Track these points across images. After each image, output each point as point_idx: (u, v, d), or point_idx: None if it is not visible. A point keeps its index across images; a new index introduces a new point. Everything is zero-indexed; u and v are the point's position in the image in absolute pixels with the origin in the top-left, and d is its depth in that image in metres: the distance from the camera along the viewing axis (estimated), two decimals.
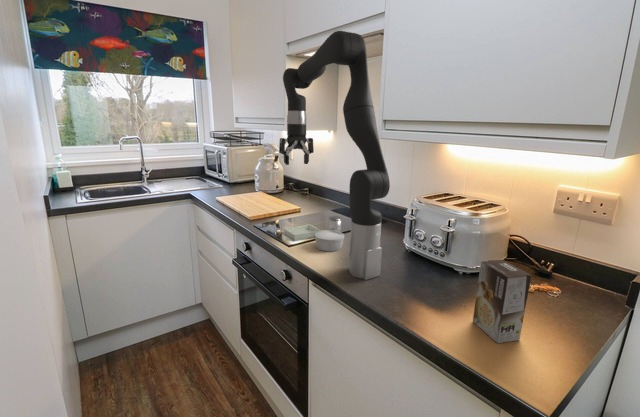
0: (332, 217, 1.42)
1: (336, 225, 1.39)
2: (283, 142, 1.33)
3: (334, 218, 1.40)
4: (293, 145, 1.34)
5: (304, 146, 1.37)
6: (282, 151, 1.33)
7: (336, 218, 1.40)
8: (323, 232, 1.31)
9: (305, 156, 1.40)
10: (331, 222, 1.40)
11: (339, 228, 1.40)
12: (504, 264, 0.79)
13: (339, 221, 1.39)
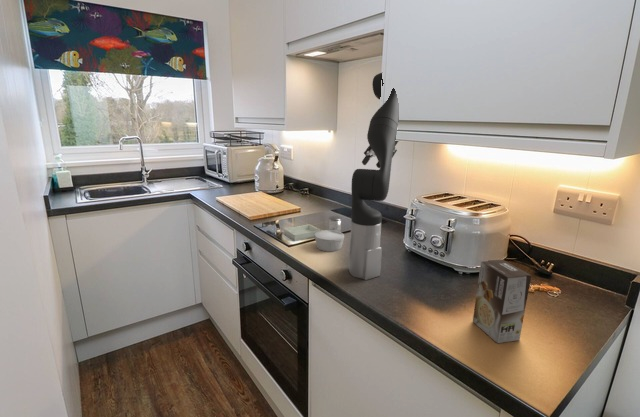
0: (332, 217, 1.42)
1: (336, 225, 1.39)
2: (370, 145, 1.48)
3: (334, 218, 1.40)
4: None
5: None
6: (365, 151, 1.48)
7: (336, 218, 1.40)
8: (323, 232, 1.31)
9: None
10: (331, 222, 1.40)
11: (339, 228, 1.40)
12: (504, 264, 0.79)
13: (339, 221, 1.39)
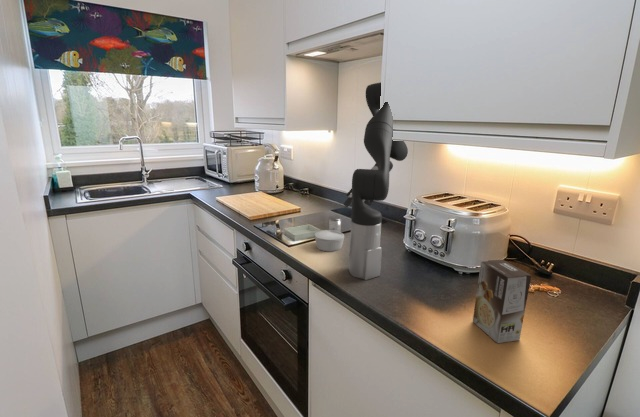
0: (332, 217, 1.42)
1: (336, 225, 1.39)
2: None
3: (334, 218, 1.40)
4: None
5: None
6: (347, 193, 1.50)
7: (336, 218, 1.40)
8: (323, 232, 1.31)
9: None
10: (331, 222, 1.40)
11: (339, 228, 1.40)
12: (504, 264, 0.79)
13: (339, 221, 1.39)
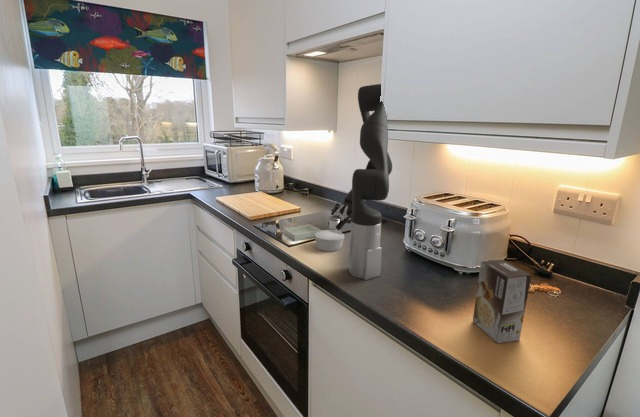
0: (332, 217, 1.42)
1: (336, 225, 1.39)
2: (335, 206, 1.47)
3: (334, 218, 1.40)
4: (340, 208, 1.44)
5: (345, 211, 1.40)
6: (332, 212, 1.46)
7: (336, 218, 1.40)
8: (323, 232, 1.31)
9: None
10: (331, 222, 1.40)
11: None
12: (504, 264, 0.79)
13: (339, 221, 1.39)
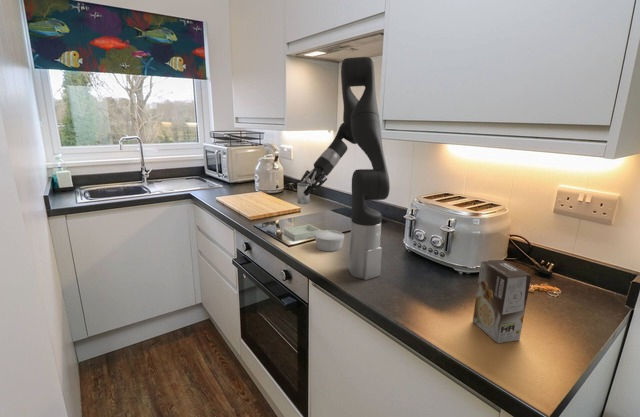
0: (300, 183, 1.39)
1: (304, 190, 1.37)
2: (305, 172, 1.45)
3: (302, 184, 1.37)
4: (309, 174, 1.41)
5: (313, 177, 1.38)
6: (301, 179, 1.43)
7: (304, 183, 1.38)
8: (323, 232, 1.31)
9: None
10: (299, 187, 1.37)
11: None
12: (504, 264, 0.79)
13: None
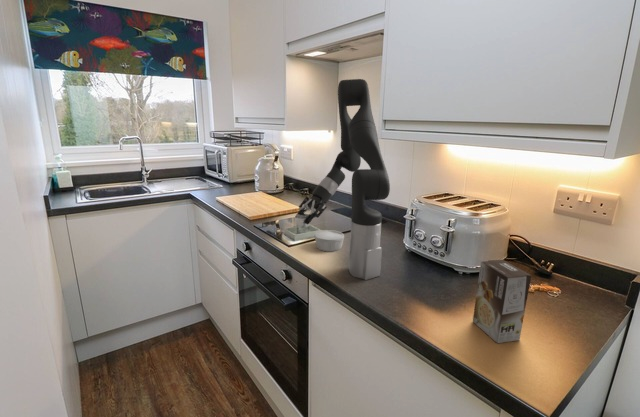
0: (299, 214, 1.42)
1: (303, 222, 1.40)
2: (304, 199, 1.48)
3: (301, 216, 1.40)
4: (307, 202, 1.44)
5: (312, 205, 1.40)
6: (300, 205, 1.47)
7: (303, 215, 1.41)
8: (323, 232, 1.31)
9: None
10: (298, 219, 1.40)
11: (306, 225, 1.41)
12: (504, 264, 0.79)
13: None
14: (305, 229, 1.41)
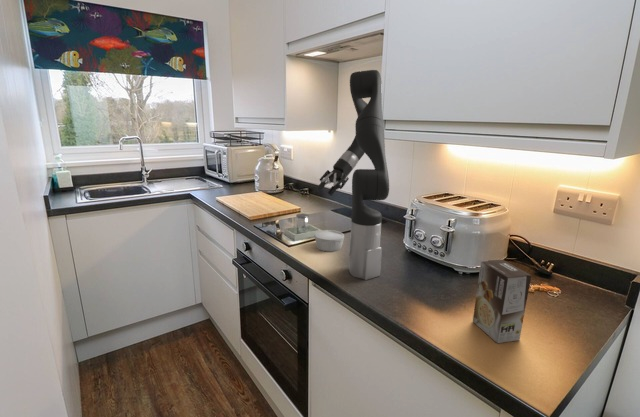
0: (299, 214, 1.42)
1: (303, 222, 1.40)
2: (325, 172, 1.51)
3: (301, 216, 1.40)
4: (328, 175, 1.47)
5: (334, 178, 1.43)
6: (320, 178, 1.50)
7: (303, 215, 1.41)
8: (323, 232, 1.31)
9: None
10: (298, 219, 1.40)
11: (306, 225, 1.41)
12: (504, 264, 0.79)
13: (306, 219, 1.40)
14: (305, 229, 1.41)
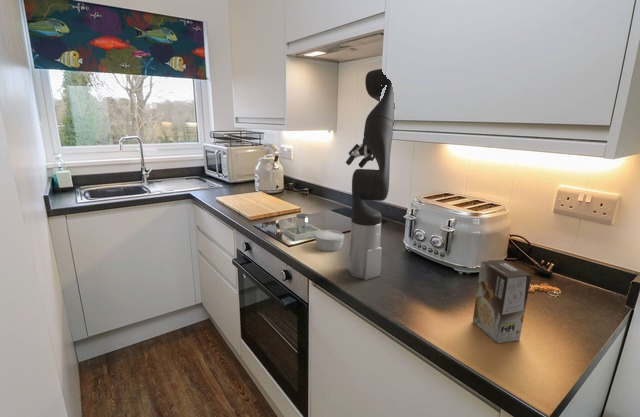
0: (299, 214, 1.42)
1: (303, 222, 1.40)
2: (354, 146, 1.50)
3: (301, 216, 1.40)
4: (358, 148, 1.46)
5: (365, 150, 1.42)
6: (349, 152, 1.49)
7: (303, 215, 1.41)
8: (323, 232, 1.31)
9: None
10: (298, 219, 1.40)
11: (306, 225, 1.41)
12: (504, 264, 0.79)
13: (306, 219, 1.40)
14: (305, 229, 1.41)
